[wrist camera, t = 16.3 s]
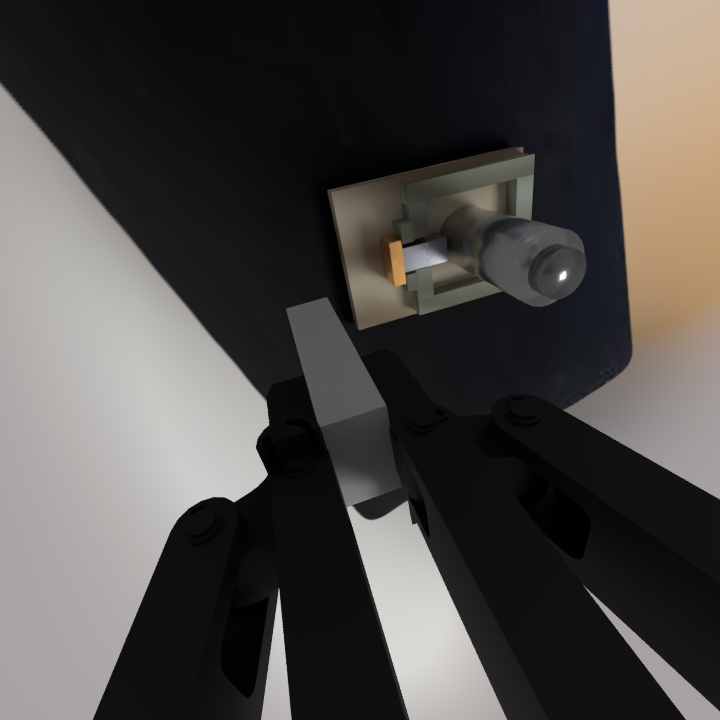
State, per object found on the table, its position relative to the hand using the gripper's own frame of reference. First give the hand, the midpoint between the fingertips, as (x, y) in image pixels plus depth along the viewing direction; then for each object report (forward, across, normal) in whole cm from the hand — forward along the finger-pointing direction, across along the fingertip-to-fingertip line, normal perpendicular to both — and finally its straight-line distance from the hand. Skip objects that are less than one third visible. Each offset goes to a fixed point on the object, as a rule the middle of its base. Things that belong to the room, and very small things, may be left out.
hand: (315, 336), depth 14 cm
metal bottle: (+18, +16, -4) cm, 25 cm away
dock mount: (+20, +13, -4) cm, 24 cm away
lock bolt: (+18, +11, -4) cm, 21 cm away
